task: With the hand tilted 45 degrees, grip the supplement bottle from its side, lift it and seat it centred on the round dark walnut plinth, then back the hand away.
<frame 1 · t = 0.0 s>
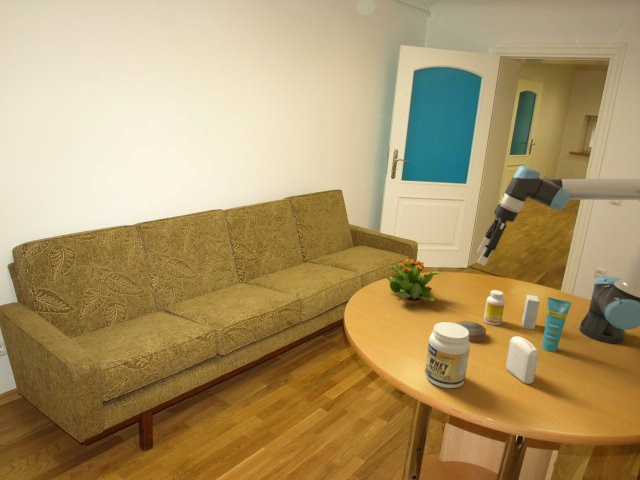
hand: (480, 258, 173), 28 cm above the table, tool tilted 20°, fingers open, 13 cm apart
potted flower: (411, 300, 203), on the table
supplement bottle: (492, 322, 185), on the table
walnut plinth: (469, 335, 173), on the table
tube: (549, 349, 166), on the table
supplement tub: (444, 379, 144), on the table
photo printer: (518, 375, 148), on the table
skincare box: (527, 326, 183), on the table
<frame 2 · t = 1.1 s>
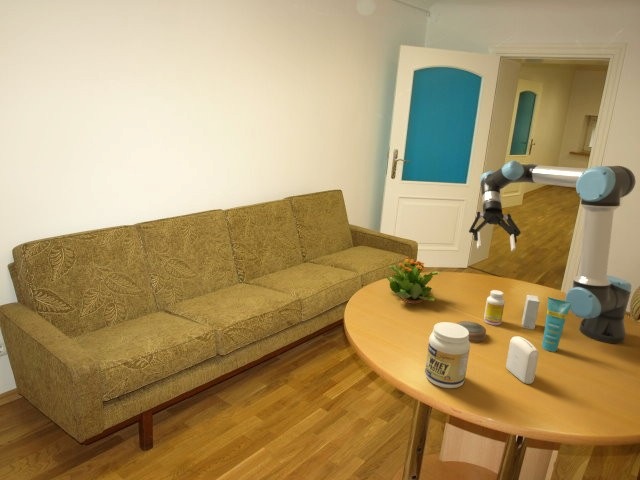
hand: (496, 248, 187), 28 cm above the table, tool tilted 45°, fingers open, 13 cm apart
nothing on the table moved.
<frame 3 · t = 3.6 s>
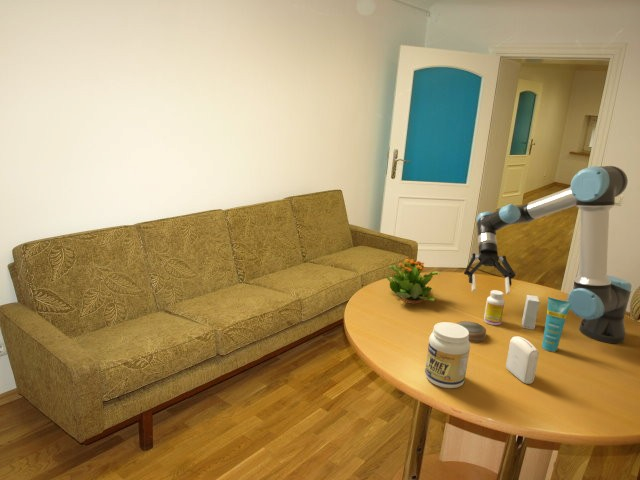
hand: (490, 291, 188), 11 cm above the table, tool tilted 45°, fingers open, 13 cm apart
nothing on the table moved.
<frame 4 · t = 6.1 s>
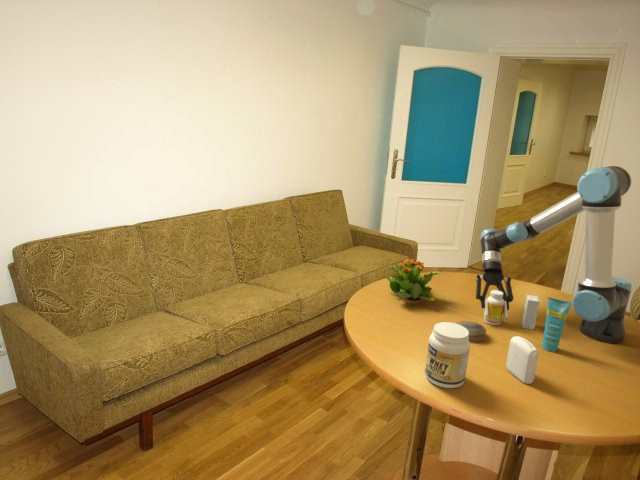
hand: (496, 316, 181), 4 cm above the table, tool tilted 45°, fingers closed on supplement bottle, 7 cm apart
supplement bottle: (492, 322, 185), on the table, touching gripper
everything else where it was.
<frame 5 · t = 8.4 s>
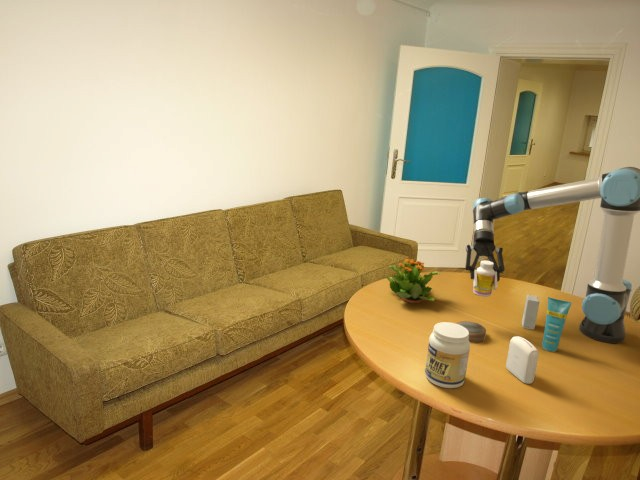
hand: (485, 287, 173), 17 cm above the table, tool tilted 45°, fingers closed on supplement bottle, 7 cm apart
supplement bottle: (481, 294, 177), point 13 cm above the table, touching gripper
everything else where it was.
when the fingers open (8 cm above the table, at t = 11.1 s): supplement bottle stays where it is, resting on walnut plinth.
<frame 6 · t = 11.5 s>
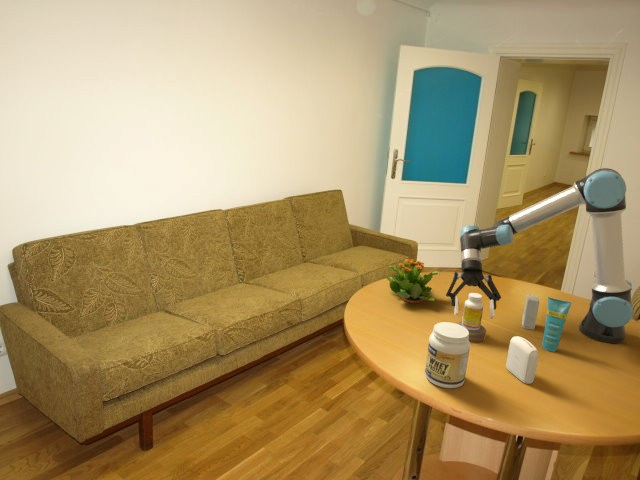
hand: (474, 316, 168), 9 cm above the table, tool tilted 45°, fingers open, 12 cm apart
supplement bottle: (470, 327, 173), point 3 cm above the table, touching walnut plinth
everything else where it was.
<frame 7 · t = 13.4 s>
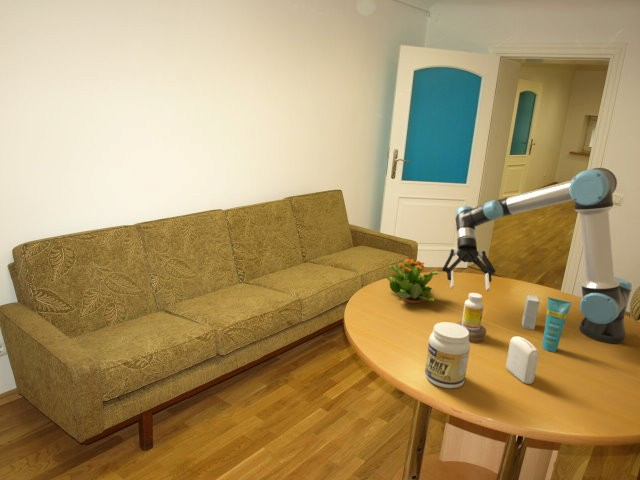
hand: (470, 288, 180), 14 cm above the table, tool tilted 45°, fingers open, 13 cm apart
nothing on the table moved.
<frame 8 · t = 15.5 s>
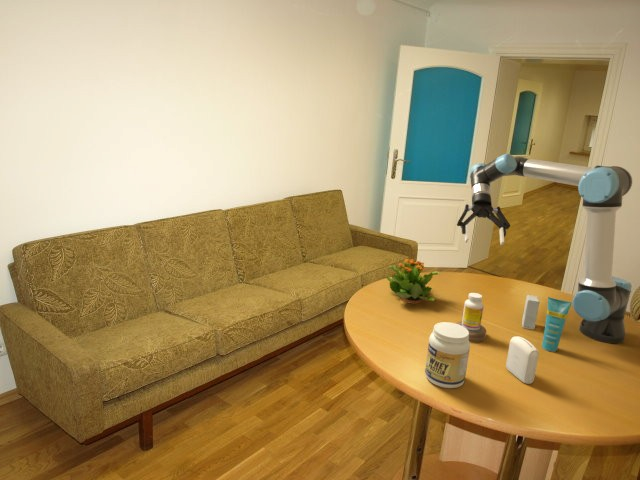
hand: (484, 242, 181), 32 cm above the table, tool tilted 45°, fingers open, 13 cm apart
nothing on the table moved.
at the end: supplement bottle 0.1 cm from the walnut plinth (horizontally); supplement bottle point 3.1 cm above the table; supplement bottle tilted 0° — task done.
